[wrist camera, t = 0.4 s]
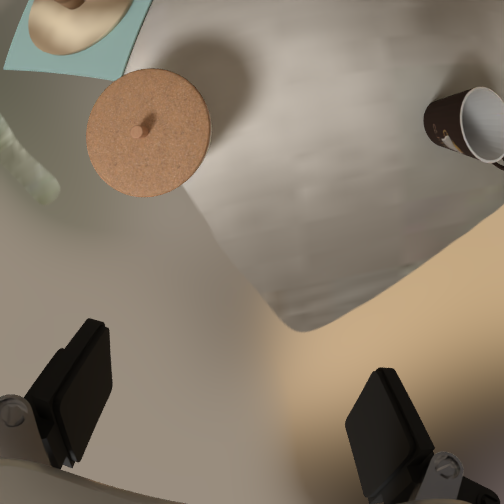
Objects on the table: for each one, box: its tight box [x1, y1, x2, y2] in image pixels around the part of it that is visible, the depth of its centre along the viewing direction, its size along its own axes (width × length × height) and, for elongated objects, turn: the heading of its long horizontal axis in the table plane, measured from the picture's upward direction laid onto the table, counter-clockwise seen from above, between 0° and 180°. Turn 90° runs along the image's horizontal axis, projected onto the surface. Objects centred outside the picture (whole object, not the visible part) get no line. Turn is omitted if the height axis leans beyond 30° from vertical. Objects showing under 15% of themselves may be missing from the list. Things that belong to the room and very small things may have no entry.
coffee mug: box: [424, 87, 504, 170], centre depth 31 cm, size 12×9×10 cm
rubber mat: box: [3, 0, 153, 81], centre depth 28 cm, size 22×22×1 cm
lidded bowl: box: [86, 68, 212, 197], centre depth 31 cm, size 13×13×11 cm
